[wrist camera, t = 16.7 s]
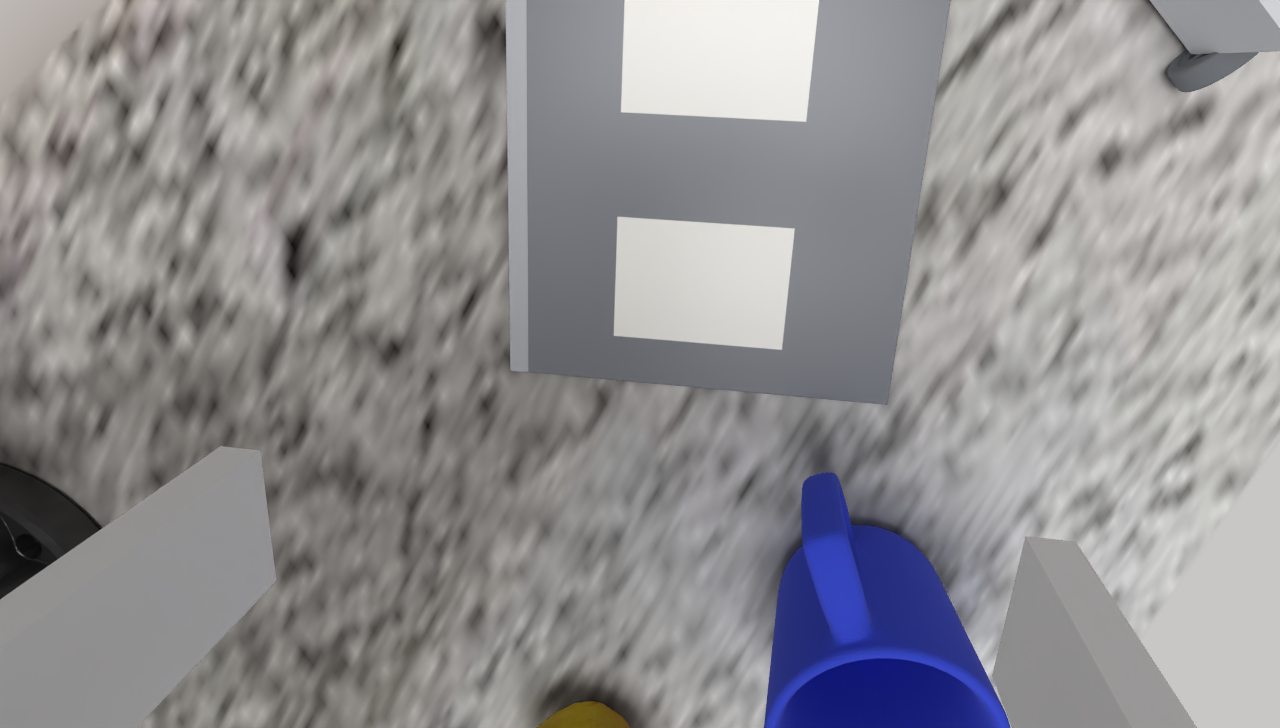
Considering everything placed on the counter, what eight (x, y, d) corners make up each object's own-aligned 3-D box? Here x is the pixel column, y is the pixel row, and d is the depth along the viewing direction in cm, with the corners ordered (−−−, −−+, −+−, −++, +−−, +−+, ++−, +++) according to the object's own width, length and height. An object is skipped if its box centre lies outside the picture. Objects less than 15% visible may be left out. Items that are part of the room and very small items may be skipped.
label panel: (513, 366, 36) (510, 370, 36) (508, -95, 30) (503, -97, 30) (885, 400, 35) (887, 405, 34) (960, -85, 28) (964, -87, 28)
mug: (906, 400, 34) (960, 524, 25) (968, 638, 38) (1036, 826, 28) (716, 447, 36) (699, 579, 27) (791, 669, 39) (799, 856, 30)
